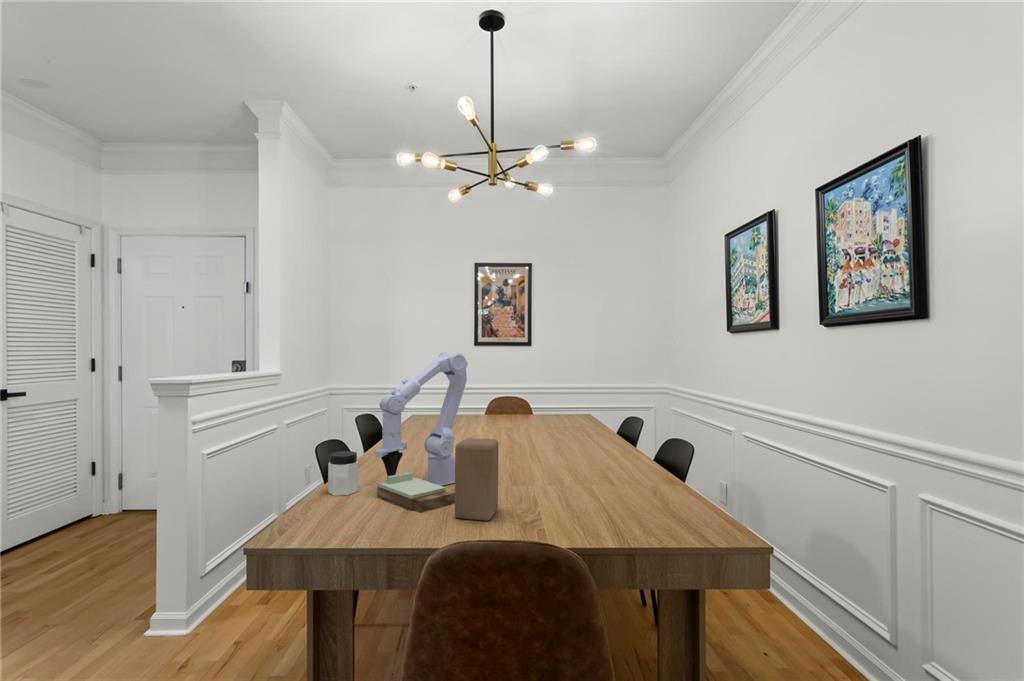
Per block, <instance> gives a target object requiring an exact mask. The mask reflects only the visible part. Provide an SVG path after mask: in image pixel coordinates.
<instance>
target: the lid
mask: <svg viewBox="0 0 1024 681" xmlns="http://www.w3.org/2000/svg"><path fill="white" fill-rule="evenodd" d="M377 487H380V488H383V489H386V490H388V491H391V492H394V493H396V494H399V495H402V496H404V497H407V498H410V499H414V498H418V497H423V496H427V495H431V494H435V493H439V492H443V491H445V492H446V490H447V488H446V486H444V485H443V486H439V485H436V484H433V483H430V482H427V481H425V480H424V479H420V478H417V477H415V476H414V473H413V472H410V471H409V472H404V473H399V474H397V473H396V474H395V475H392V476H387V475H386V481H382V482H381V481H380V482H377Z"/></svg>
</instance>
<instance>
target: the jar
mask: <svg viewBox="0 0 1024 681" xmlns="http://www.w3.org/2000/svg"><path fill="white" fill-rule="evenodd" d="M327 468H328V469H327V470H328V471H327V472H328V473H327V476H328V477H327V484H328V485H327V492H328V493H329V494H330V495H332V496H339V497H340V496H349V495H352V494H354V493H355V494H356V493H357V492H358V491H359V490H358V489H359V488H358V487H359V482H358V481H359V461H358V453H357V452H356V451H353V450H352V451H351V450H348V451H347V450H343V451H342V450H341V451H335V452H332V453H330V454H329V462H328V467H327Z"/></svg>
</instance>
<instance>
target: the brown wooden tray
mask: <svg viewBox="0 0 1024 681" xmlns="http://www.w3.org/2000/svg"><path fill="white" fill-rule="evenodd" d="M376 489H377V491H376V492H377V493H376V494H377V495H376V496H377V498H379V499H381V500H384V501H386V502H389V503H390V504H391V503H392V505H396V506H398V507H401V508H404V509H406V510H409V511H416V512H418V513H423V512H427V511H430V510H431V511H432V510H435V509H438V508H442V507H446V506H447V507H448V506H449V505H453V504H454V505H455V488H454V489H452V490H447V491H443V492H439V493H435V494H431V495H427V496H423V497H418V498H414V499H410V498H407V497H404V496H402V495H399V494H396V493H394V492H391V491H388V490H386V489H383V488H380V487H378V486H377V488H376Z"/></svg>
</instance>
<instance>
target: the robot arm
mask: <svg viewBox="0 0 1024 681" xmlns="http://www.w3.org/2000/svg"><path fill="white" fill-rule="evenodd" d="M467 367H468V361H467V359H466V356H465V355H463V354H462V353H460V352H441V353H440V354H439V355H438V356H435V357H434V358H433V360H432V361H431V362H430V363H429V364H428V365H427V366H426V367H425V368H424V369H423V370H421V371H420V373H418V374H417V375H416V376H415V377H414V378H407V379H404V380H402V383H401V384H400V385H399V386H398V387H397V388H396V389H392V390H391V391H390V392H391V393H389V394H386V395H384V396H383V397H382V398H381V401H380V403H379V404H378V405H379V408H380V410H381V411H382V433H381V434H382V440H381V442H382V443H381V444H382V446H381V447H380V448H377V450H374V457H375V458H379V459H381V460H382V463H383V464H384V468H385V471H386V477H387V476H392V475H397V471H398V470H397V469H398V468H399V463H400V461H401V459H402V457H403V452H400V451H404V450H407V449H408V443H407V442H406V443H405V442H402V413H403V411H404V410H405V408H406V405H407V404H408V403H409V402H410V401H411V400H412V399H414V398H415V397H416V396H417V395H418V394H419V393H420V392H421V387H422V386H423V385H424V384H426V383H427V382H429V381H430V380H431V379H432V378H433V377H435V376H436V375H438V374H439V373H443V374H444V375H445V376H446V378H447V379H448V381H449V384H448V387H447V390H446V393H445V397H444V400H443V402H442V406H441V408H440V412H439V415H438V419H437V421H436V425H435V426H434V427H433V428H432V429H431V430H430V432H429V434H428V436H427V437H426V438H425V439H424V443H423V444H424V445H423V448H424V450H425V451H426V452H427V479H426V480H424V481H427V482H430V483H433V484H436V485H439V486H443V487H444V486H447V485H451V484H455V455H453V454H452V453H453V451H454V446H455V445H454V441H455V435H454V432H453V427H454V424H455V422H456V421H455V420H456V418H457V415H458V411H459V407H460V404H461V401H462V398H463V395H464V391H465V388H466V384H467V381H468V377H467Z"/></svg>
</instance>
